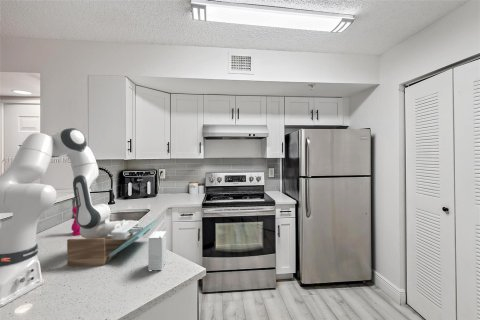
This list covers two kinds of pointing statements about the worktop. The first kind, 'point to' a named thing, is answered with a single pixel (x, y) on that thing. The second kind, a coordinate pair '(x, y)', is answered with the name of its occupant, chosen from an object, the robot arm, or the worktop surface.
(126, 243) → the tailgate
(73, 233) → the pepper mill
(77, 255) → the box
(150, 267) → the skincare box
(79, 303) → the worktop surface
